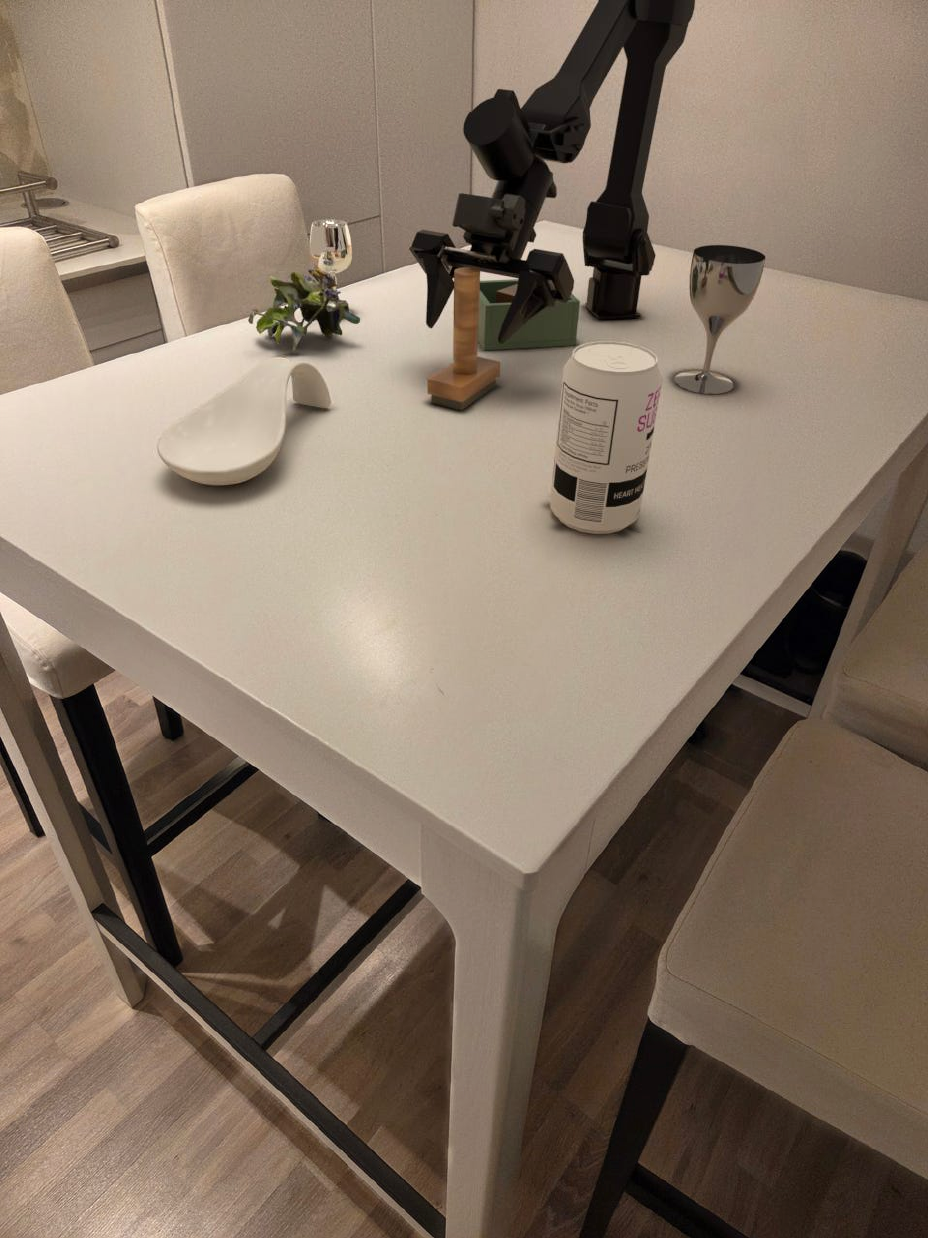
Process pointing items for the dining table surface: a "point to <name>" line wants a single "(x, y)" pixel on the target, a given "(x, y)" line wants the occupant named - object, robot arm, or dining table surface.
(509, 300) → the block
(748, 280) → the wine glass
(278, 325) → the passion flower
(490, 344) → the bin
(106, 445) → the dining table surface
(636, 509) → the supplement can
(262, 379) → the spoon rest
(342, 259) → the wineglass
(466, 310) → the stamp
